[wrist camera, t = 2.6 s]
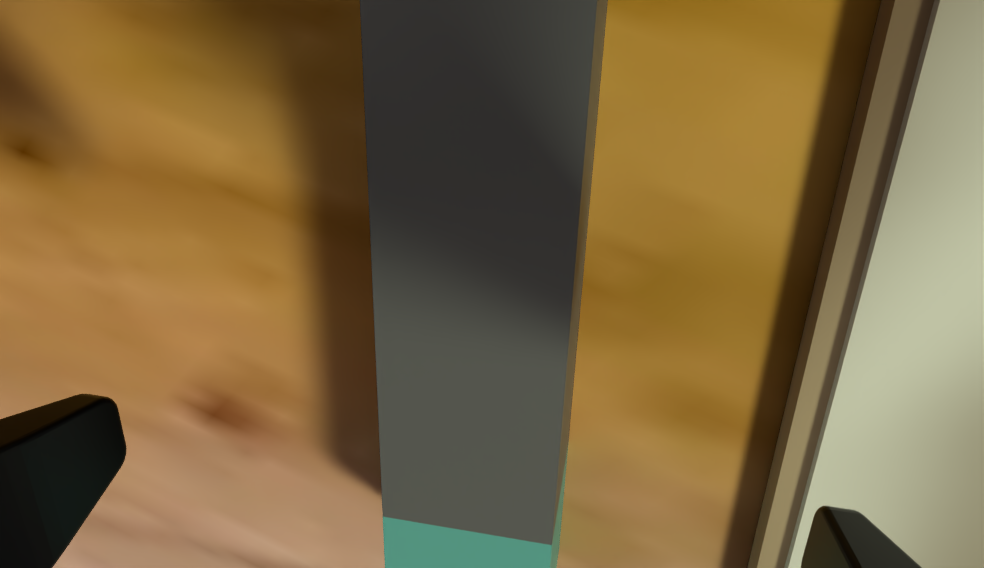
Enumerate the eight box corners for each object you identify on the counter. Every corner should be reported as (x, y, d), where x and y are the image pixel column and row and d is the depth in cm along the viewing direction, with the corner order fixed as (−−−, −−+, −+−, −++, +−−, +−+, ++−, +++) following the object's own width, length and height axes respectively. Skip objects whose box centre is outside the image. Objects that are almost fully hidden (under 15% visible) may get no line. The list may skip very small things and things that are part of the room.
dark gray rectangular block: (610, -35, 11) (601, -46, 8) (558, 549, 15) (541, 668, 13) (426, -41, 11) (358, -51, 8) (430, 528, 16) (388, 637, 13)
